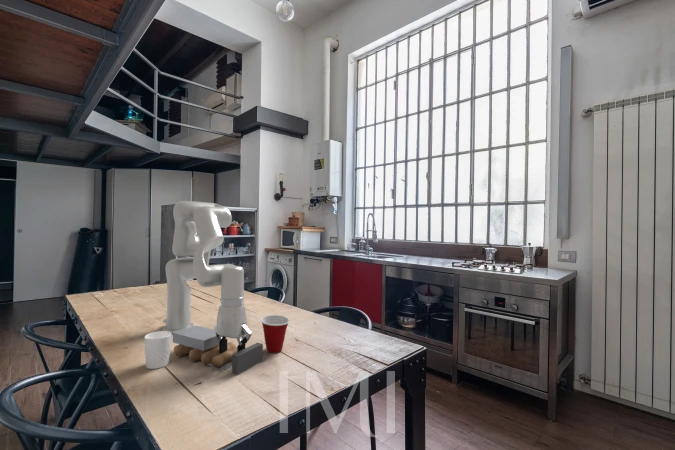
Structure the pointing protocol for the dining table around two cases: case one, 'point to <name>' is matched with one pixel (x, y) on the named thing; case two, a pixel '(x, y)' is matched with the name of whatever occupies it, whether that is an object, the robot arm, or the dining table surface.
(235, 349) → the roller
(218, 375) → the dining table surface
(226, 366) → the grey flat plate
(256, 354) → the block
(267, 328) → the plastic cup
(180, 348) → the roller bed
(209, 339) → the slab
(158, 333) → the white cup
